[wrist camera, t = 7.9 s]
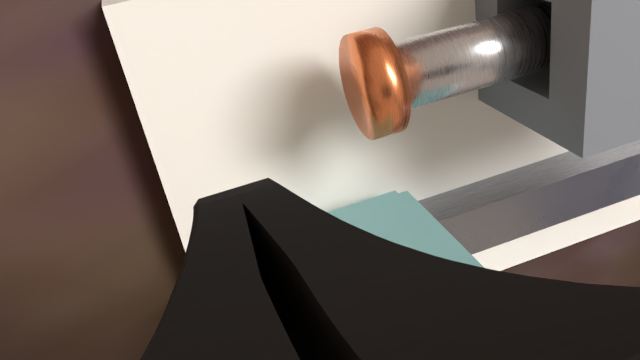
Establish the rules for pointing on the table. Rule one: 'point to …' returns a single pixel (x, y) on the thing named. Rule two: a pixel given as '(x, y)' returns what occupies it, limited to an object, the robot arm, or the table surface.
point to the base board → (313, 111)
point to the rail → (536, 196)
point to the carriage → (404, 225)
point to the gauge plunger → (438, 65)
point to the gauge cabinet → (578, 76)
